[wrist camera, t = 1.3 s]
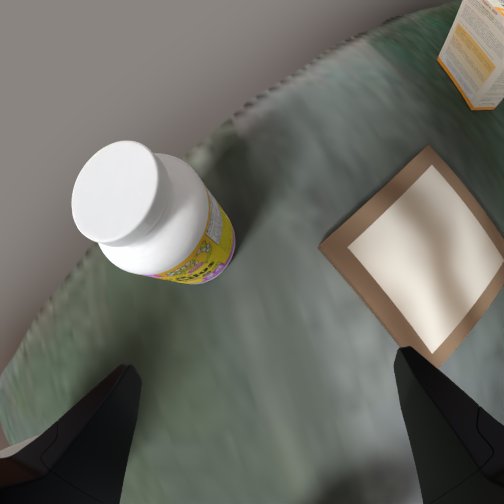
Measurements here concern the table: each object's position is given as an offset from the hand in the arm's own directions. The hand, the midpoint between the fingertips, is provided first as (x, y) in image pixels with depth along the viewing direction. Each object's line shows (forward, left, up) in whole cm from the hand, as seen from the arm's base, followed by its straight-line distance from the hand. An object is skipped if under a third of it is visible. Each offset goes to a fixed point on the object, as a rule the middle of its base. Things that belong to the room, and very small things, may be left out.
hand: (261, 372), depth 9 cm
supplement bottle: (-1, +9, -14) cm, 16 cm away
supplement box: (+34, +5, -14) cm, 37 cm away
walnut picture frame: (+13, -4, -13) cm, 19 cm away
